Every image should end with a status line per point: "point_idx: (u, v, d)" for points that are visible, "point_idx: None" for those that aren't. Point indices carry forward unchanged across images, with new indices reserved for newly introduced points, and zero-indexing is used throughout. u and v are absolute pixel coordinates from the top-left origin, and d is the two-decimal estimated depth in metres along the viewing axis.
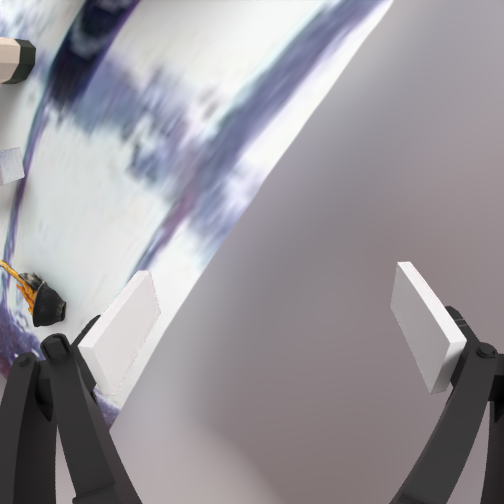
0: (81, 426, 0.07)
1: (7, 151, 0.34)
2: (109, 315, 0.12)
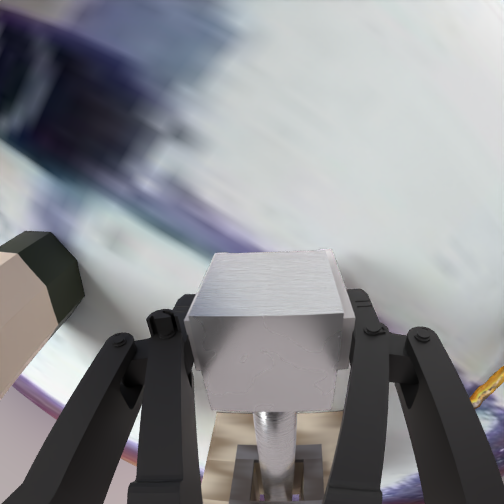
0: (167, 411, 0.08)
1: (207, 286, 0.12)
2: None
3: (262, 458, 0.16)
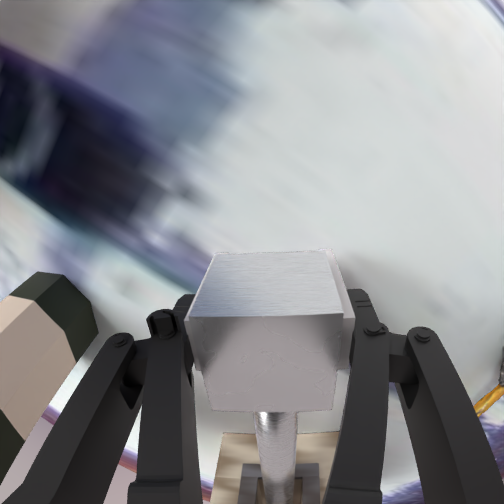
0: (167, 411, 0.08)
1: (207, 286, 0.12)
2: None
3: (263, 458, 0.16)
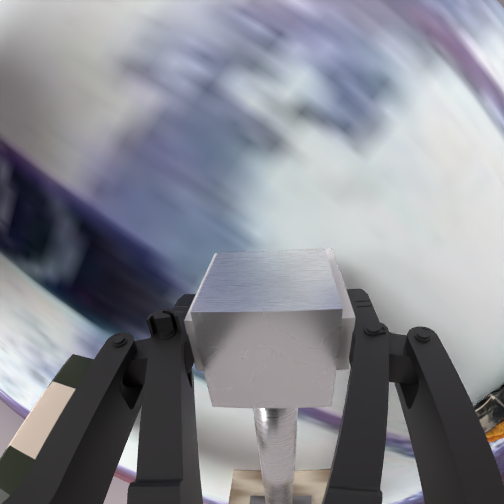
0: (167, 411, 0.08)
1: (208, 283, 0.12)
2: None
3: (263, 456, 0.16)
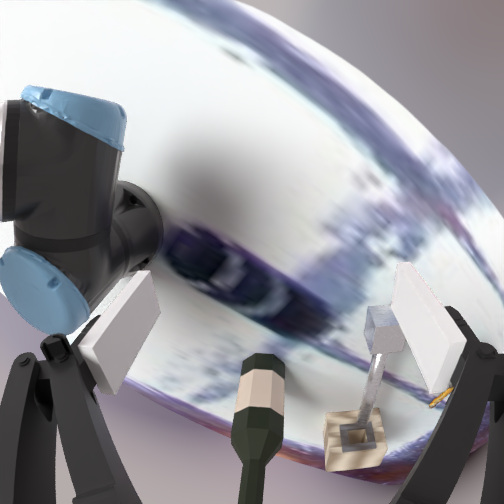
0: (81, 426, 0.07)
1: (374, 318, 0.40)
2: (109, 315, 0.12)
3: (371, 380, 0.45)
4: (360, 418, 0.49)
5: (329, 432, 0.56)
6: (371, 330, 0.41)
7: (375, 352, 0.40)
